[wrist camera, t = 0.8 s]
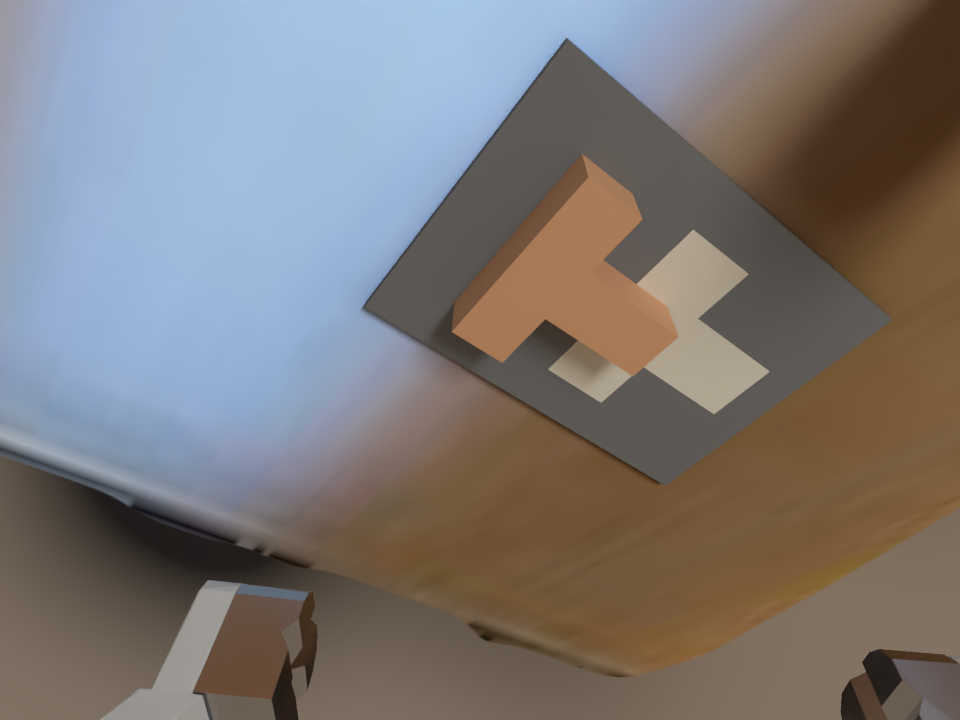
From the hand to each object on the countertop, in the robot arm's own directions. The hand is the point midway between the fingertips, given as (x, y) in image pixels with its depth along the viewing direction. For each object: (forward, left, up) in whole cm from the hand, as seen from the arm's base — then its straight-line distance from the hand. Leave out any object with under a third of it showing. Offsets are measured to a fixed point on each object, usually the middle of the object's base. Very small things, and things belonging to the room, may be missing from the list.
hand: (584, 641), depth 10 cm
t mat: (+13, -6, -28) cm, 31 cm away
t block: (+9, -6, -27) cm, 29 cm away
